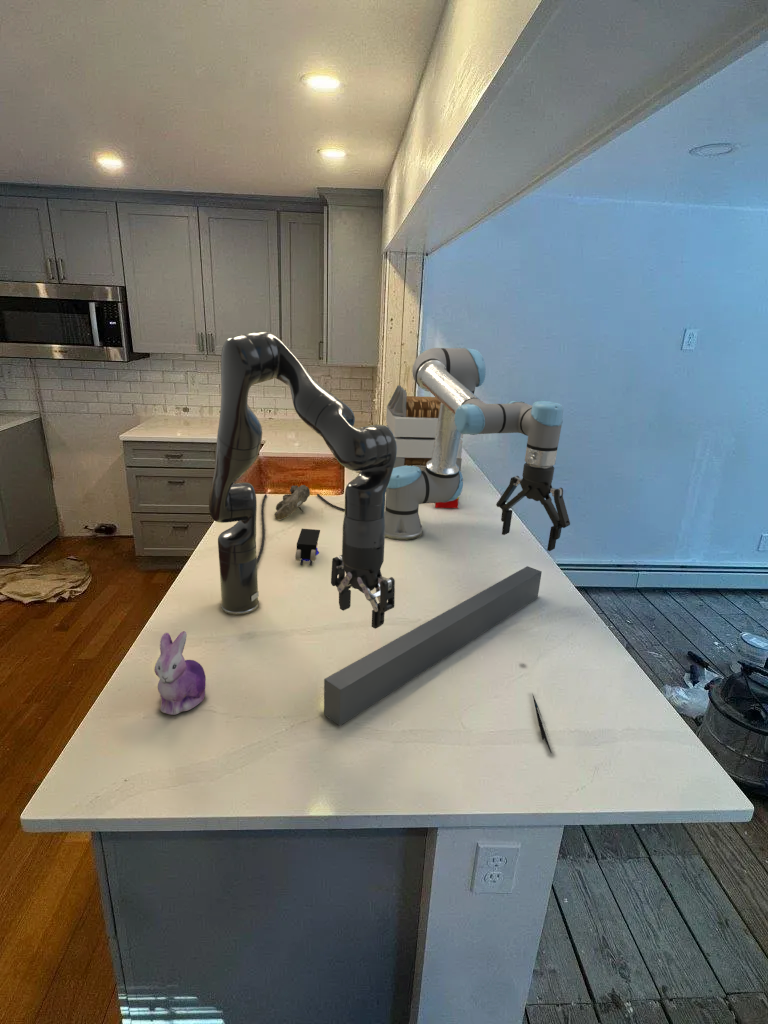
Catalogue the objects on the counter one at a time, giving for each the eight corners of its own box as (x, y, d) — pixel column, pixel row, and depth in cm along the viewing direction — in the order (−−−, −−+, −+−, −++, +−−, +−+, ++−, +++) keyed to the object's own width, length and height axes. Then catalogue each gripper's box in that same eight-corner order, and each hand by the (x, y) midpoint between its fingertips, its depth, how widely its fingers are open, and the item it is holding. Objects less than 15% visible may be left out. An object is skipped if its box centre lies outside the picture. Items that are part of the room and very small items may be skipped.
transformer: (382, 463, 289) (386, 382, 275) (445, 464, 293) (451, 384, 279) (390, 482, 257) (394, 392, 243) (460, 483, 261) (468, 394, 247)
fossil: (279, 491, 226) (308, 470, 221) (295, 509, 228) (323, 489, 223) (264, 515, 206) (294, 493, 201) (281, 534, 209) (312, 514, 204)
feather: (523, 669, 129) (529, 663, 128) (551, 758, 102) (558, 750, 101) (517, 665, 128) (523, 659, 128) (543, 753, 102) (550, 746, 101)
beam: (523, 592, 162) (527, 566, 159) (537, 597, 159) (541, 571, 157) (323, 714, 110) (324, 678, 107) (339, 726, 107) (340, 690, 104)
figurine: (161, 723, 106) (153, 655, 100) (154, 691, 114) (147, 626, 109) (213, 709, 110) (208, 643, 105) (202, 680, 118) (198, 616, 113)
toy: (452, 466, 252) (464, 476, 223) (451, 496, 255) (462, 509, 226) (425, 465, 252) (433, 475, 222) (424, 495, 254) (431, 508, 225)
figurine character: (316, 572, 171) (321, 547, 184) (316, 550, 168) (320, 527, 181) (294, 572, 171) (300, 547, 184) (293, 550, 167) (299, 526, 181)
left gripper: (321, 531, 102) (320, 610, 108) (377, 556, 93) (373, 640, 99) (351, 521, 108) (349, 597, 113) (407, 544, 99) (402, 625, 104)
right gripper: (489, 455, 148) (480, 530, 156) (579, 479, 132) (564, 561, 140) (504, 451, 153) (495, 524, 161) (593, 473, 138) (578, 552, 145)
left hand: (360, 617), depth 106 cm, fingers open, 8 cm apart
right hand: (527, 541), depth 150 cm, fingers open, 13 cm apart
